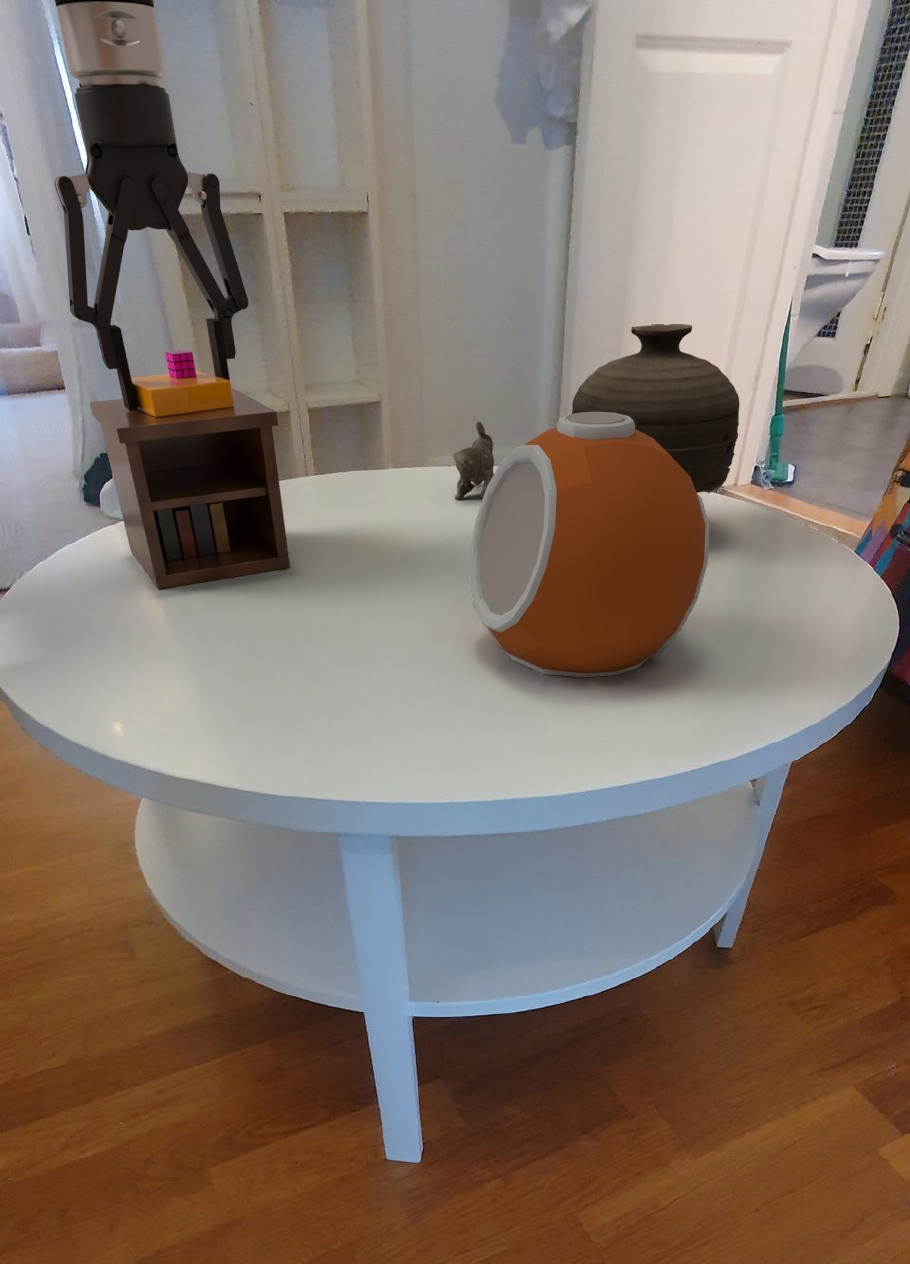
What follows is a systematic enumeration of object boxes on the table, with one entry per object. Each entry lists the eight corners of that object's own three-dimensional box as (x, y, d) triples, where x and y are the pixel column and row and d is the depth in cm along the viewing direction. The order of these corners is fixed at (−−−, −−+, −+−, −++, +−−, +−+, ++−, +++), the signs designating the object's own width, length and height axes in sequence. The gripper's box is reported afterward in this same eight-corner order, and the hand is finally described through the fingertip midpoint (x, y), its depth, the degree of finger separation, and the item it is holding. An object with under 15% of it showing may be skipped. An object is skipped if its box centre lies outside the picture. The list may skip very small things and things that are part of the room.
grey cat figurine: (459, 483, 122) (458, 419, 117) (502, 484, 121) (503, 420, 116) (443, 507, 113) (442, 439, 108) (490, 508, 112) (490, 440, 107)
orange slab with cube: (234, 407, 88) (226, 355, 86) (155, 417, 85) (144, 364, 82) (201, 396, 93) (192, 346, 91) (125, 405, 90) (114, 354, 87)
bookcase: (154, 592, 91) (116, 428, 82) (125, 551, 101) (89, 402, 92) (296, 568, 96) (276, 411, 86) (255, 531, 106) (233, 388, 97)
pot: (526, 518, 106) (550, 308, 93) (651, 512, 113) (690, 316, 100) (608, 565, 94) (649, 333, 81) (743, 556, 101) (801, 339, 88)
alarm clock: (445, 624, 83) (439, 405, 72) (617, 598, 87) (637, 388, 76) (527, 710, 69) (536, 456, 58) (726, 675, 74) (770, 432, 62)
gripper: (-16, 78, 68) (72, 422, 83) (259, 82, 75) (295, 399, 90) (-23, 86, 73) (60, 408, 88) (234, 89, 80) (272, 388, 95)
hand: (179, 403), depth 89 cm, fingers closed on orange slab with cube, 9 cm apart
